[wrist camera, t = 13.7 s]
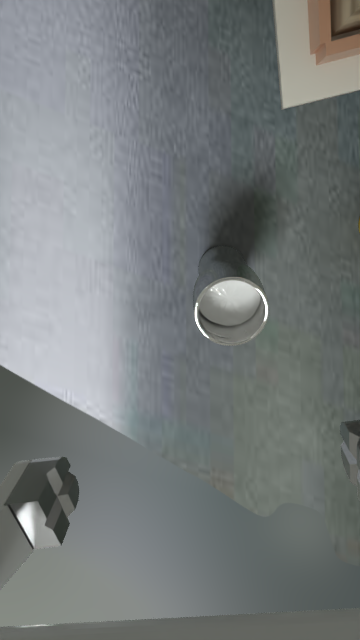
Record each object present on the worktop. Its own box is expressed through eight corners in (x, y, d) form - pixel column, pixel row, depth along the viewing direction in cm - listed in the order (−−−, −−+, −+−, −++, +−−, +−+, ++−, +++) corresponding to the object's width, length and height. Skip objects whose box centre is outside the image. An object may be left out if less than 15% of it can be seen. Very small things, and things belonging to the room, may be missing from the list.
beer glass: (216, 230, 42) (223, 258, 28) (260, 262, 43) (288, 304, 29) (184, 275, 44) (176, 321, 30) (227, 304, 45) (238, 361, 32)
